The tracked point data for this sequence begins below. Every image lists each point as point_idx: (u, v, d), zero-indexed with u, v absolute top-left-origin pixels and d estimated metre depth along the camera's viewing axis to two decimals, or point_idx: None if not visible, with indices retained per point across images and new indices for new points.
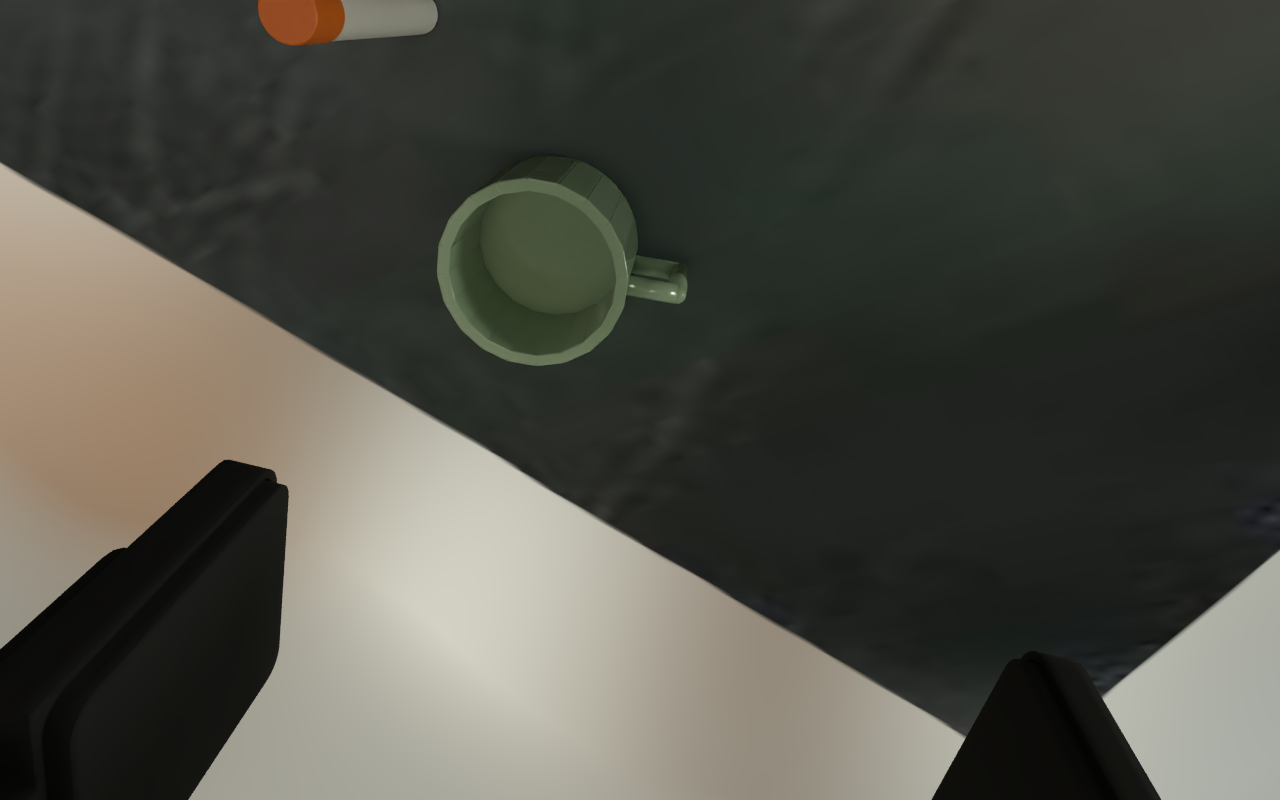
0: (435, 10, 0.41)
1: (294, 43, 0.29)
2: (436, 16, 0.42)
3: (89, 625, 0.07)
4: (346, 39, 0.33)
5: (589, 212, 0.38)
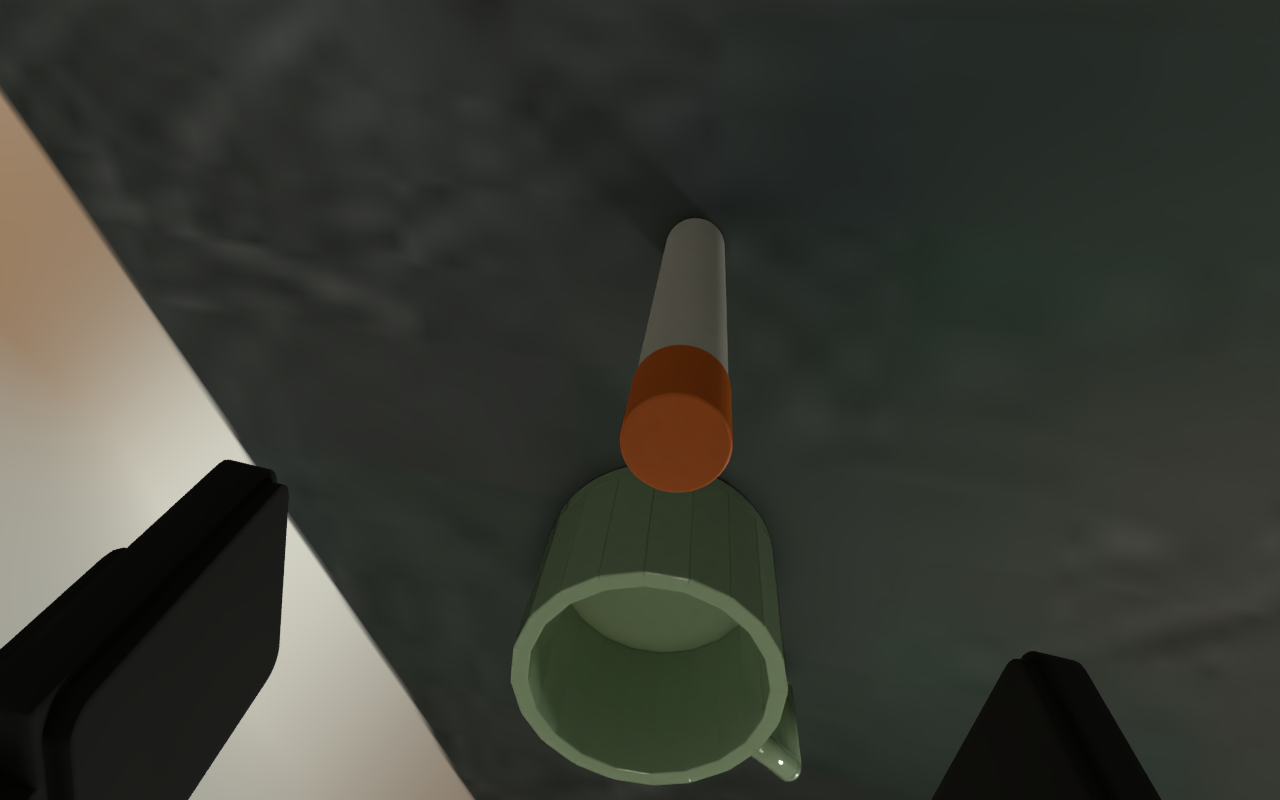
0: None
1: (649, 483, 0.16)
2: None
3: (89, 625, 0.07)
4: None
5: (773, 670, 0.27)
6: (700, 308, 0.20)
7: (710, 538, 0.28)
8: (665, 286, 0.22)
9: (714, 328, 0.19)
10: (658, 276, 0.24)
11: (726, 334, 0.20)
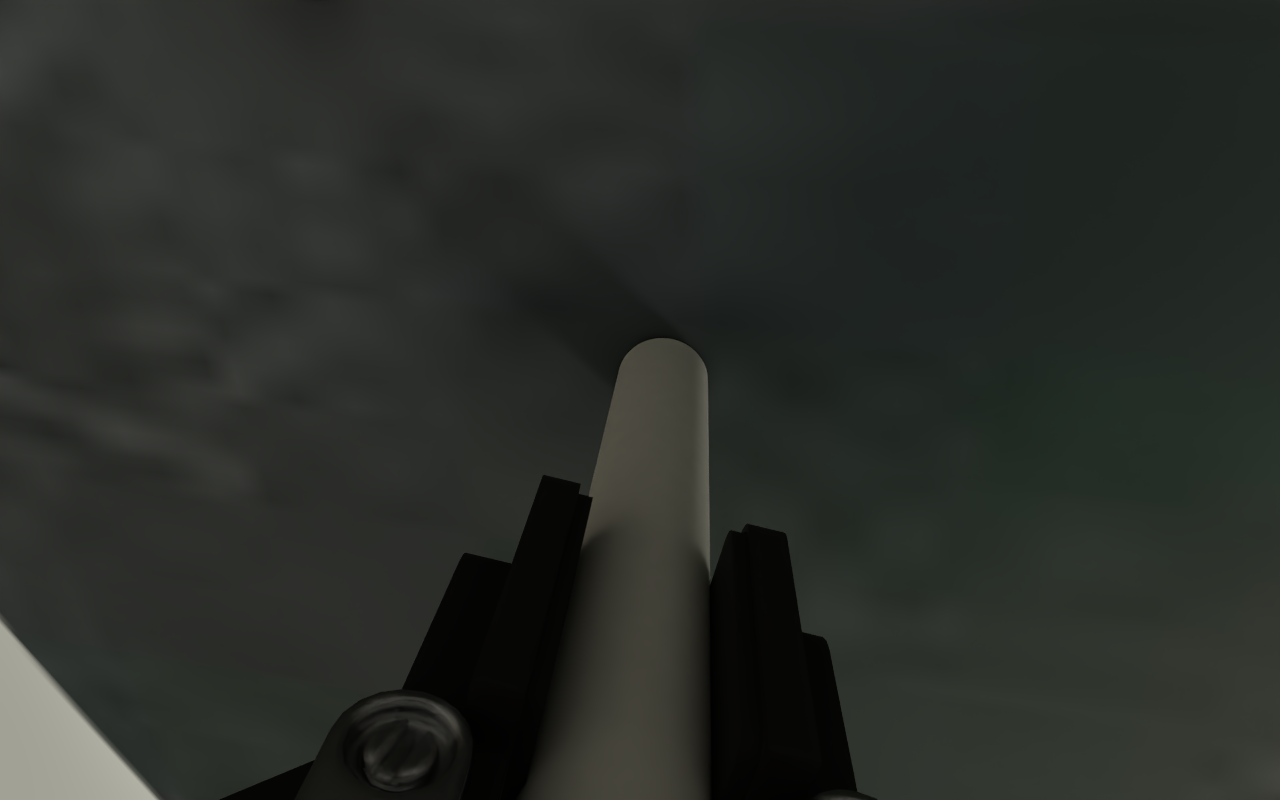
0: None
1: None
2: None
3: (525, 619, 0.08)
4: None
5: None
6: (656, 624, 0.10)
7: None
8: (597, 526, 0.12)
9: (683, 687, 0.09)
10: None
11: (709, 657, 0.10)
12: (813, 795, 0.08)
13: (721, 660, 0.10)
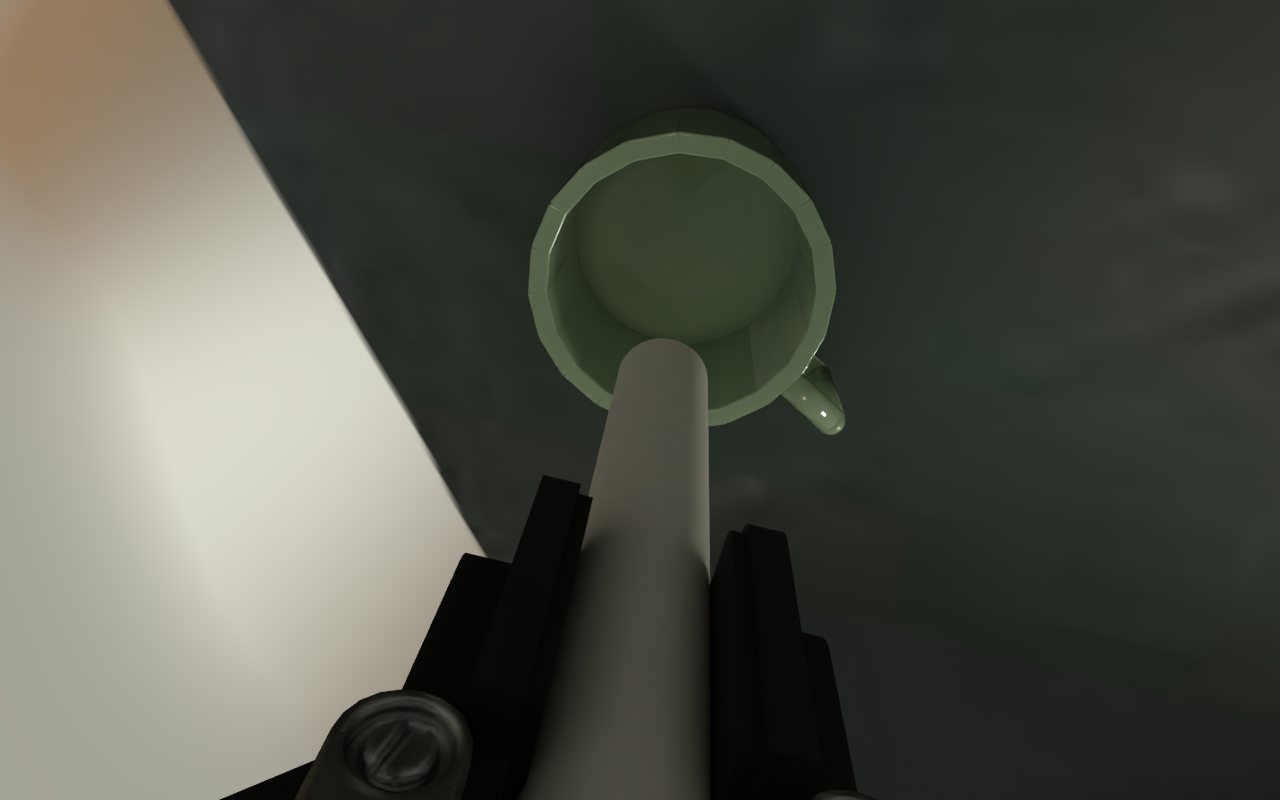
0: None
1: None
2: None
3: (525, 619, 0.08)
4: None
5: (820, 262, 0.24)
6: (656, 625, 0.10)
7: (747, 136, 0.26)
8: (596, 527, 0.12)
9: (682, 688, 0.09)
10: None
11: (709, 658, 0.10)
12: (813, 795, 0.08)
13: (721, 660, 0.10)
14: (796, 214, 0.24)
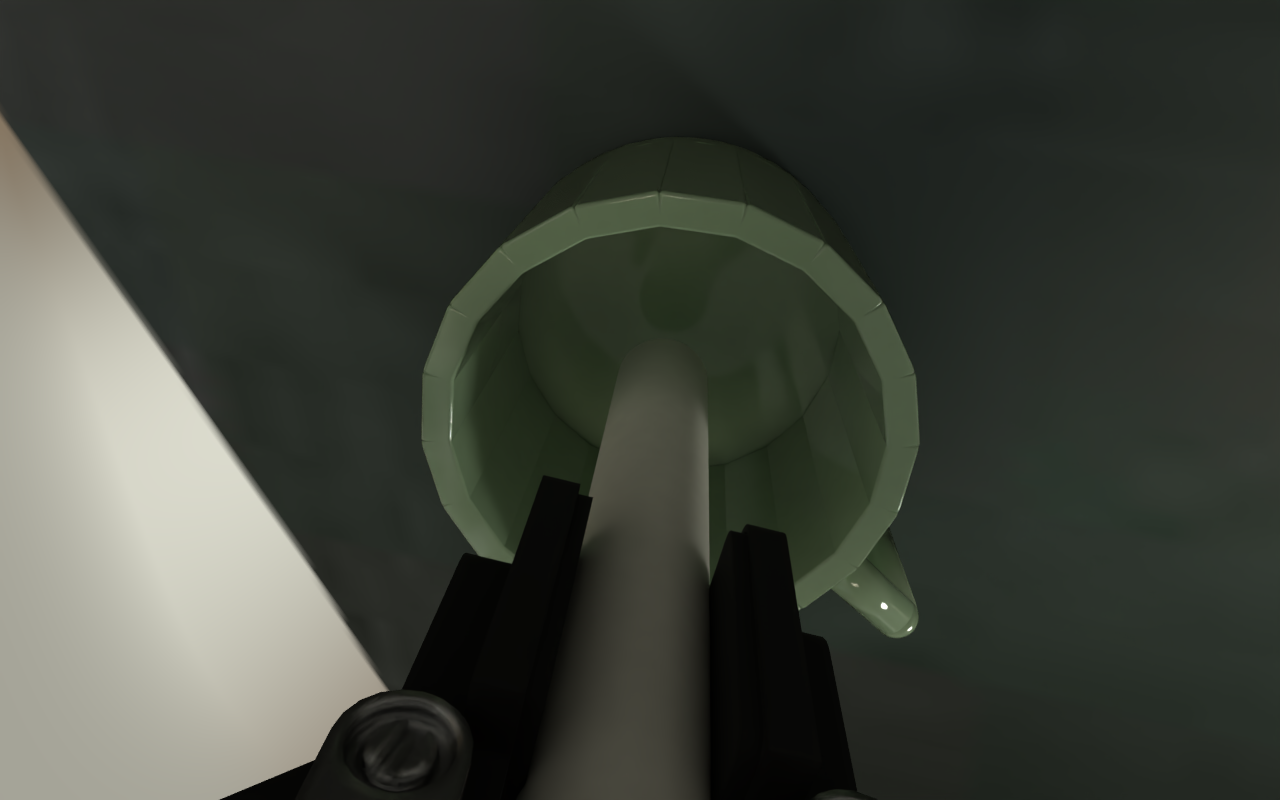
0: None
1: None
2: None
3: (525, 619, 0.08)
4: None
5: (896, 402, 0.15)
6: (655, 626, 0.10)
7: (773, 190, 0.16)
8: (596, 528, 0.12)
9: (682, 688, 0.09)
10: None
11: (708, 658, 0.10)
12: (813, 795, 0.08)
13: (721, 660, 0.10)
14: (858, 327, 0.14)
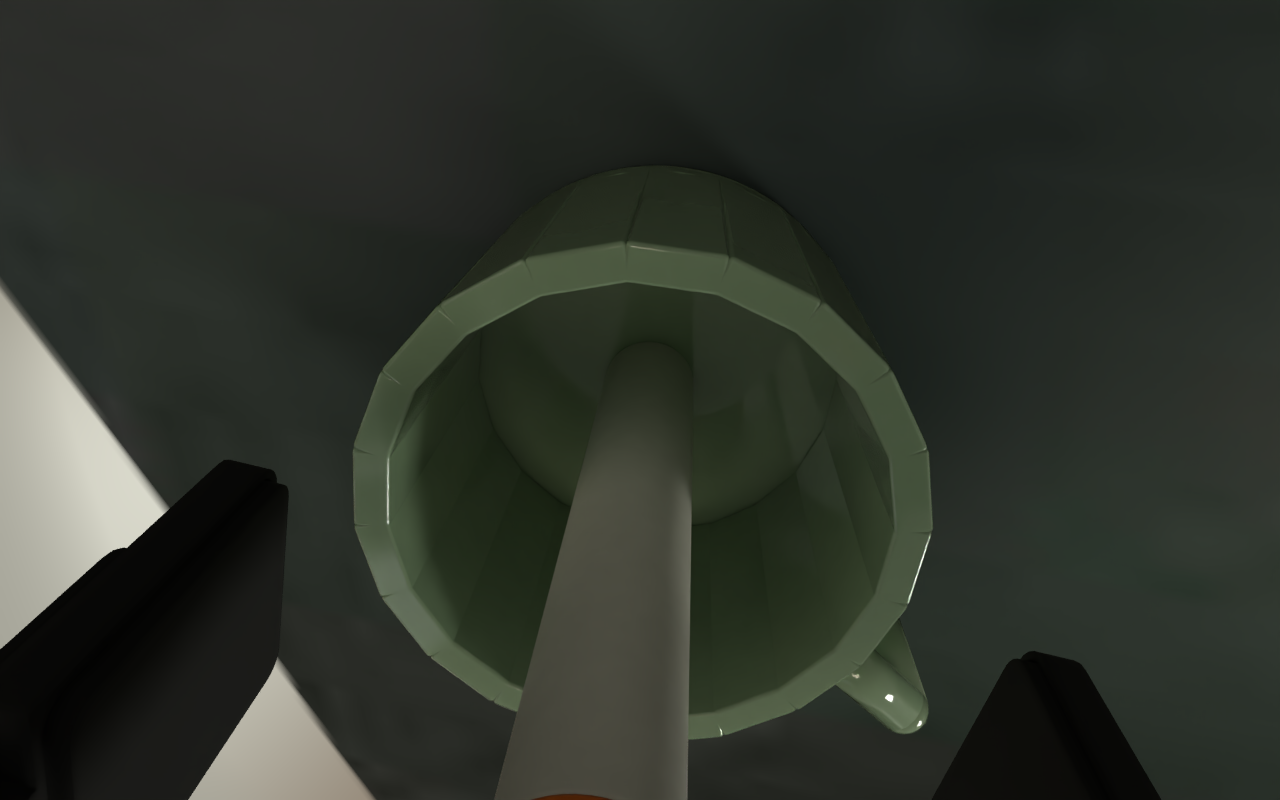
0: None
1: None
2: None
3: (89, 625, 0.07)
4: None
5: (905, 483, 0.13)
6: (635, 617, 0.10)
7: (761, 232, 0.14)
8: (580, 525, 0.12)
9: (660, 678, 0.09)
10: None
11: (687, 650, 0.11)
12: None
13: None
14: (861, 398, 0.12)
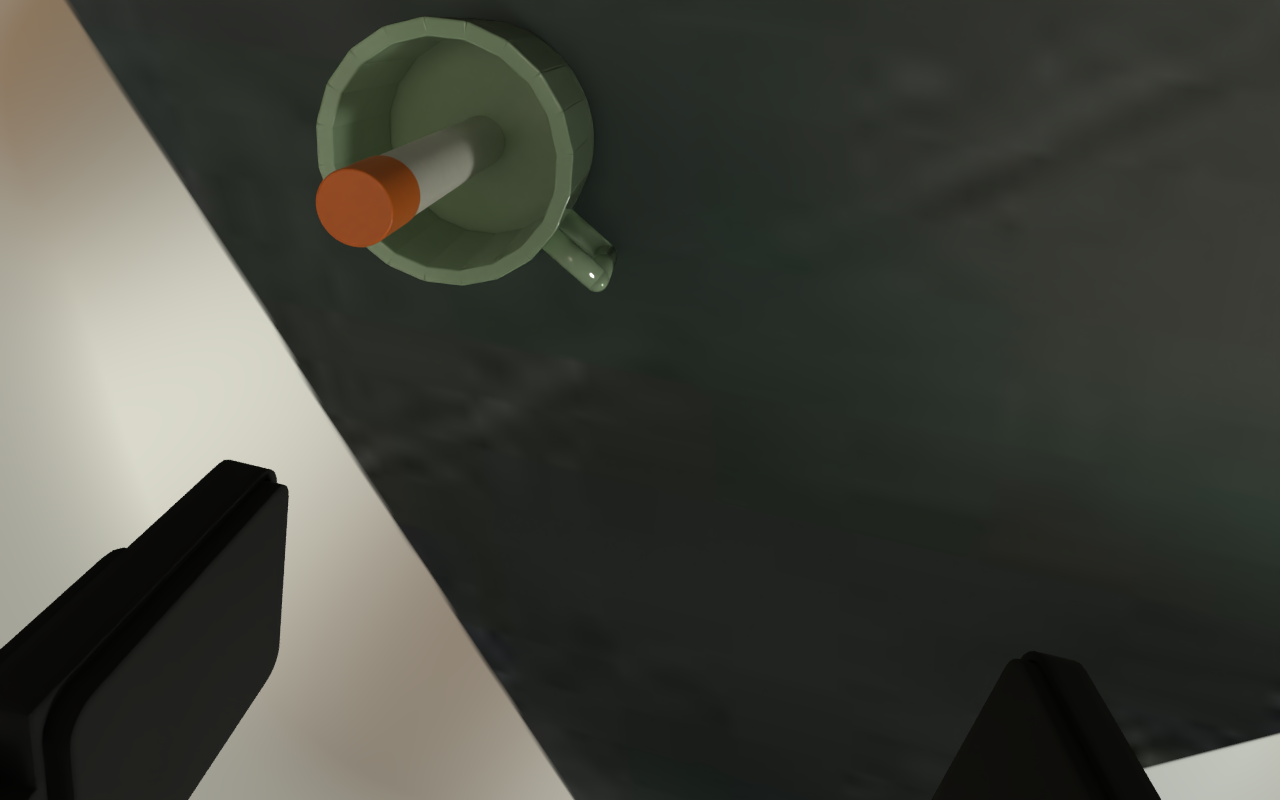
0: (501, 153, 0.35)
1: (341, 240, 0.23)
2: (498, 158, 0.35)
3: (89, 624, 0.07)
4: None
5: (556, 128, 0.29)
6: (419, 146, 0.26)
7: (502, 30, 0.30)
8: None
9: (423, 156, 0.26)
10: None
11: (444, 168, 0.27)
12: None
13: None
14: (530, 86, 0.28)
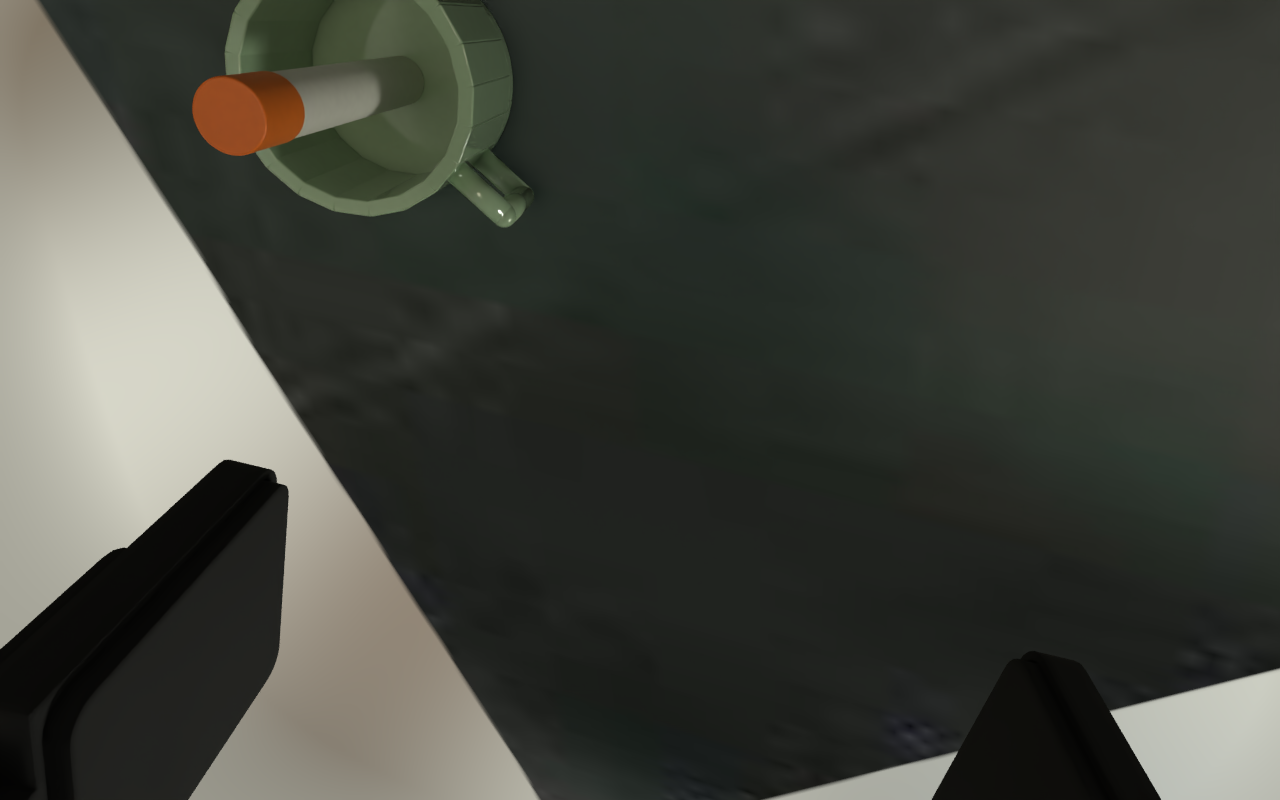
0: (420, 93, 0.36)
1: (218, 148, 0.23)
2: (417, 98, 0.36)
3: (89, 625, 0.07)
4: None
5: (457, 60, 0.30)
6: (313, 69, 0.27)
7: None
8: None
9: (314, 77, 0.27)
10: None
11: (339, 92, 0.28)
12: None
13: None
14: (430, 17, 0.29)
